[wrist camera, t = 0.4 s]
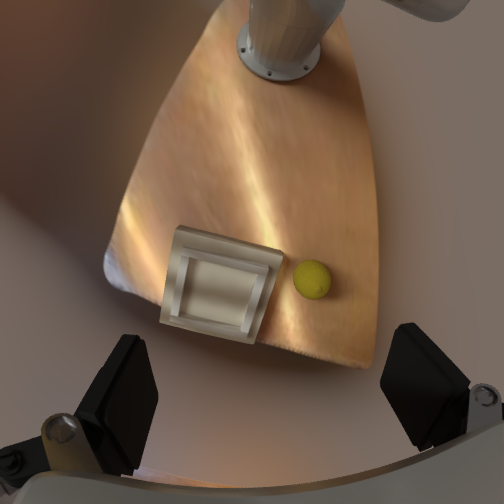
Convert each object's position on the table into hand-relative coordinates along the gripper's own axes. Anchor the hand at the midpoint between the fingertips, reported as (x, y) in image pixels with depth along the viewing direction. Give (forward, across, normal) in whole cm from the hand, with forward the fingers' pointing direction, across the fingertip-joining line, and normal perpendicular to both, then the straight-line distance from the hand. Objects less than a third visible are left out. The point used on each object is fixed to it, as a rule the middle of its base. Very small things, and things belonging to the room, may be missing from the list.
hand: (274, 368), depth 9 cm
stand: (+34, +5, +11) cm, 36 cm away
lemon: (+34, -9, +9) cm, 37 cm away
